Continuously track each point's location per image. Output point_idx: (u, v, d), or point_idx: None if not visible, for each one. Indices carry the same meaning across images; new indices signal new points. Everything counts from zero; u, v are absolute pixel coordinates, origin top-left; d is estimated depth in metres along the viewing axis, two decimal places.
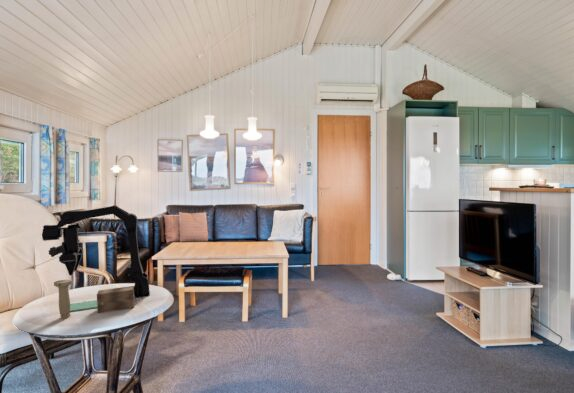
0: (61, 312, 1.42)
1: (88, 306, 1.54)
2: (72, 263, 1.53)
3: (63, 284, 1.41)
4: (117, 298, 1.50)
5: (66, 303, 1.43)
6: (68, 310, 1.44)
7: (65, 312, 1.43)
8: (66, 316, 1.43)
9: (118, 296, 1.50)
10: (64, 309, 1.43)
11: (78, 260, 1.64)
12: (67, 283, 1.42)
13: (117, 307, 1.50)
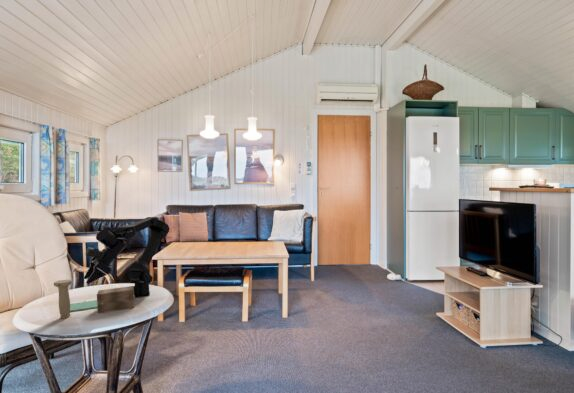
0: (61, 312, 1.42)
1: (88, 306, 1.54)
2: (99, 274, 1.46)
3: (63, 284, 1.41)
4: (117, 298, 1.50)
5: (66, 303, 1.43)
6: (68, 310, 1.44)
7: (65, 312, 1.43)
8: (66, 316, 1.43)
9: (118, 296, 1.50)
10: (64, 309, 1.43)
11: None
12: (67, 283, 1.42)
13: (117, 307, 1.50)
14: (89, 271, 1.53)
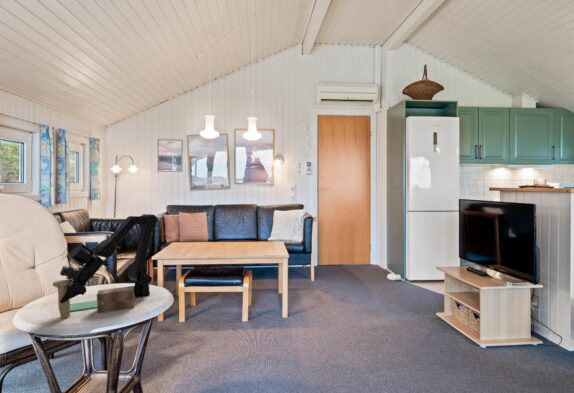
0: (61, 312, 1.42)
1: (88, 306, 1.54)
2: (73, 293, 1.43)
3: (62, 284, 1.41)
4: (117, 298, 1.50)
5: (66, 303, 1.43)
6: (68, 310, 1.44)
7: (65, 312, 1.43)
8: (66, 316, 1.43)
9: (118, 296, 1.50)
10: (64, 309, 1.42)
11: None
12: (66, 283, 1.42)
13: (117, 307, 1.50)
14: None
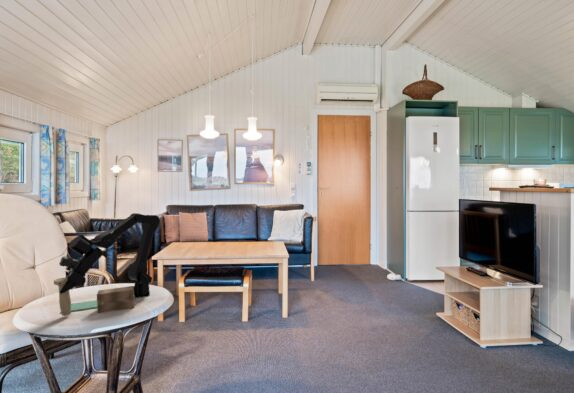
0: (62, 310, 1.43)
1: (88, 306, 1.54)
2: (73, 284, 1.42)
3: (64, 282, 1.42)
4: (117, 298, 1.50)
5: (67, 301, 1.43)
6: (69, 307, 1.44)
7: (66, 310, 1.43)
8: (67, 313, 1.44)
9: (118, 296, 1.50)
10: (65, 307, 1.43)
11: None
12: None
13: (117, 307, 1.50)
14: None
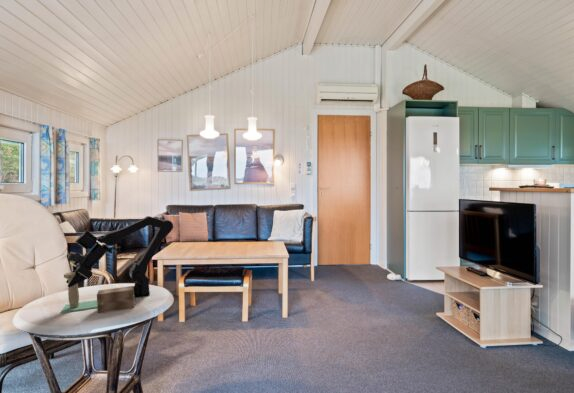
0: (71, 302, 1.52)
1: (88, 306, 1.54)
2: (81, 278, 1.50)
3: (73, 276, 1.52)
4: (117, 298, 1.50)
5: (75, 294, 1.53)
6: (77, 300, 1.54)
7: (75, 302, 1.53)
8: (75, 306, 1.53)
9: (118, 296, 1.50)
10: (74, 299, 1.53)
11: None
12: None
13: (117, 307, 1.50)
14: None
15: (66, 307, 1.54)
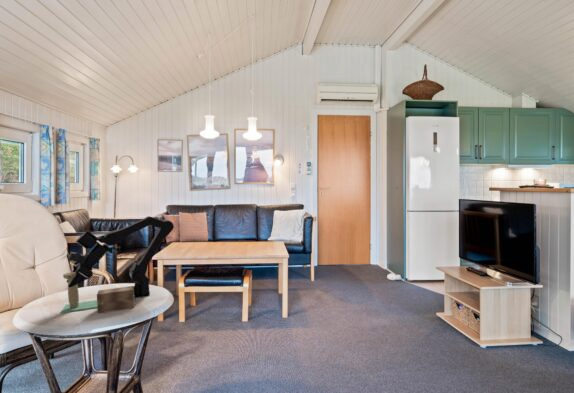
0: (71, 302, 1.52)
1: (88, 306, 1.54)
2: (81, 278, 1.50)
3: (73, 276, 1.52)
4: (117, 298, 1.50)
5: (75, 293, 1.53)
6: (77, 300, 1.54)
7: (74, 302, 1.53)
8: (75, 306, 1.53)
9: (118, 296, 1.50)
10: (74, 299, 1.53)
11: None
12: None
13: (117, 307, 1.50)
14: None
15: (66, 307, 1.54)
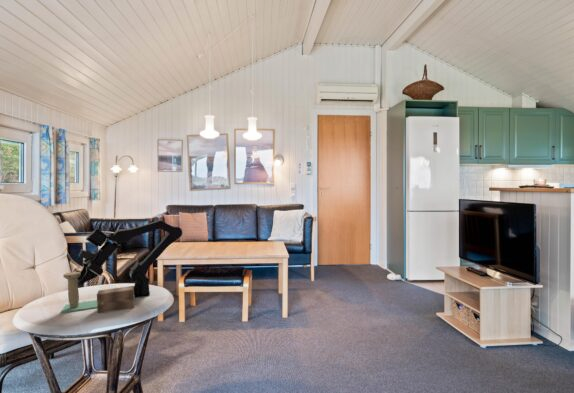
0: (71, 302, 1.52)
1: (88, 306, 1.54)
2: (92, 275, 1.52)
3: (73, 276, 1.52)
4: (117, 298, 1.50)
5: (75, 294, 1.53)
6: (77, 300, 1.54)
7: (74, 302, 1.53)
8: (75, 306, 1.53)
9: (118, 296, 1.50)
10: (74, 299, 1.53)
11: None
12: (77, 275, 1.52)
13: (117, 307, 1.50)
14: (82, 272, 1.59)
15: (66, 307, 1.54)
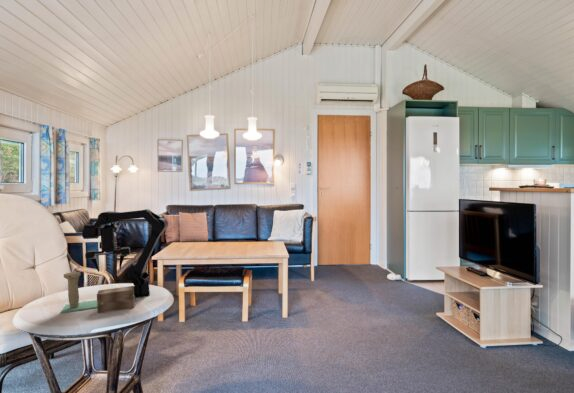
0: (71, 302, 1.52)
1: (88, 306, 1.54)
2: None
3: (73, 276, 1.52)
4: (117, 298, 1.50)
5: (75, 294, 1.53)
6: (77, 300, 1.54)
7: (74, 302, 1.53)
8: (75, 306, 1.53)
9: (118, 296, 1.50)
10: (74, 299, 1.53)
11: None
12: (77, 275, 1.52)
13: (117, 307, 1.50)
14: None
15: (66, 307, 1.54)
